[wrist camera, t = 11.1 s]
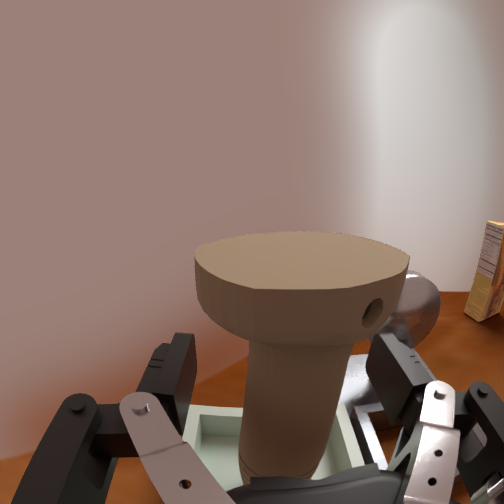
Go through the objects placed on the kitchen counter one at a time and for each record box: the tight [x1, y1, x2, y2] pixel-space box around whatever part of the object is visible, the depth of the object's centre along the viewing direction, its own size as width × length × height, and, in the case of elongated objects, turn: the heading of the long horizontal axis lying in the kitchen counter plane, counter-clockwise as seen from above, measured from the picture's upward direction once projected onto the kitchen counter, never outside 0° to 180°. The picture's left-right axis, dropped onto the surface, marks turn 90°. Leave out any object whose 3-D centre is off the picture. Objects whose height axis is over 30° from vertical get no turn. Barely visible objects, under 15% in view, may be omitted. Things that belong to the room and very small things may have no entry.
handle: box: [194, 231, 410, 485], centre depth 10 cm, size 5×6×15 cm
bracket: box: [338, 271, 487, 486], centre depth 16 cm, size 11×17×12 cm, turn 1°
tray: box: [182, 404, 365, 492], centre depth 12 cm, size 11×11×4 cm
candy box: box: [464, 221, 504, 322], centre depth 31 cm, size 9×4×15 cm, turn 103°
